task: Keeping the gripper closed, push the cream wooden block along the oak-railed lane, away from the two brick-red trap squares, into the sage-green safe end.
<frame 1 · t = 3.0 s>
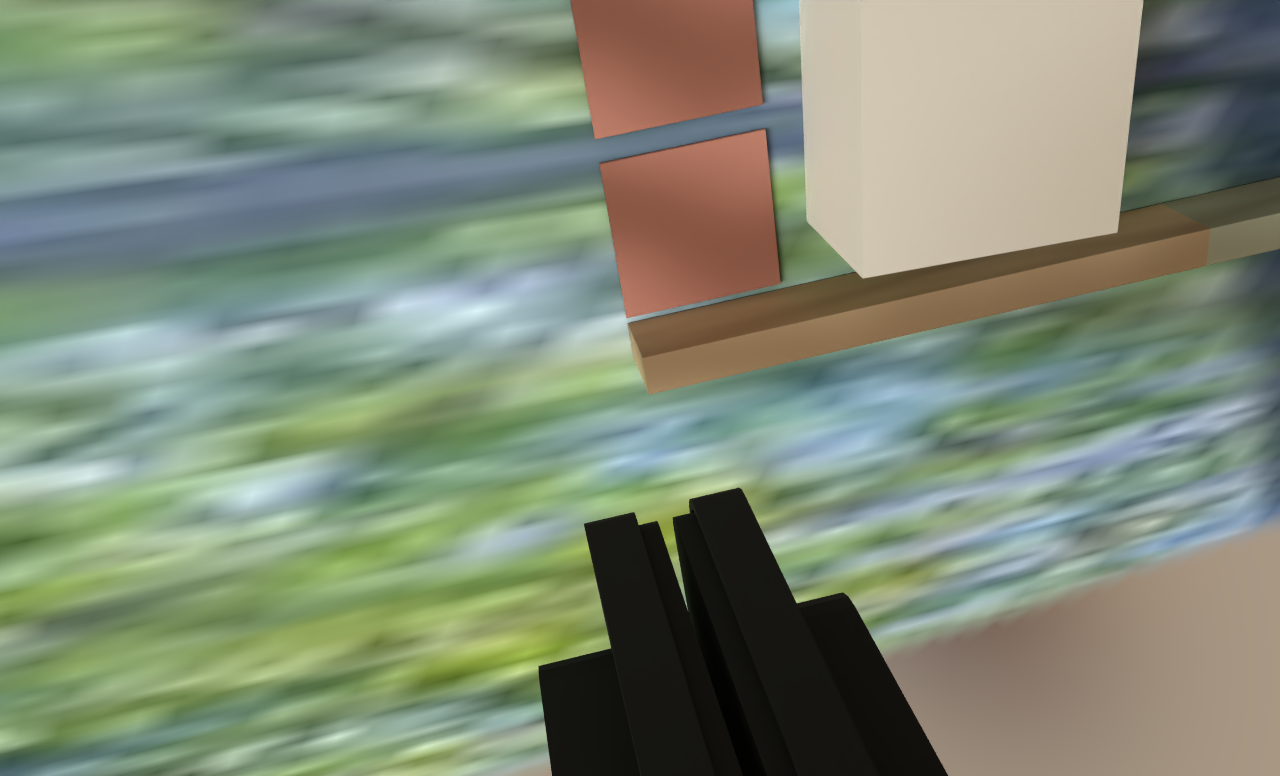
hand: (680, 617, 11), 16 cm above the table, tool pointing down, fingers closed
cream block: (920, 80, 26), resting in finger lane
finger lane: (1061, 53, 26), on the table
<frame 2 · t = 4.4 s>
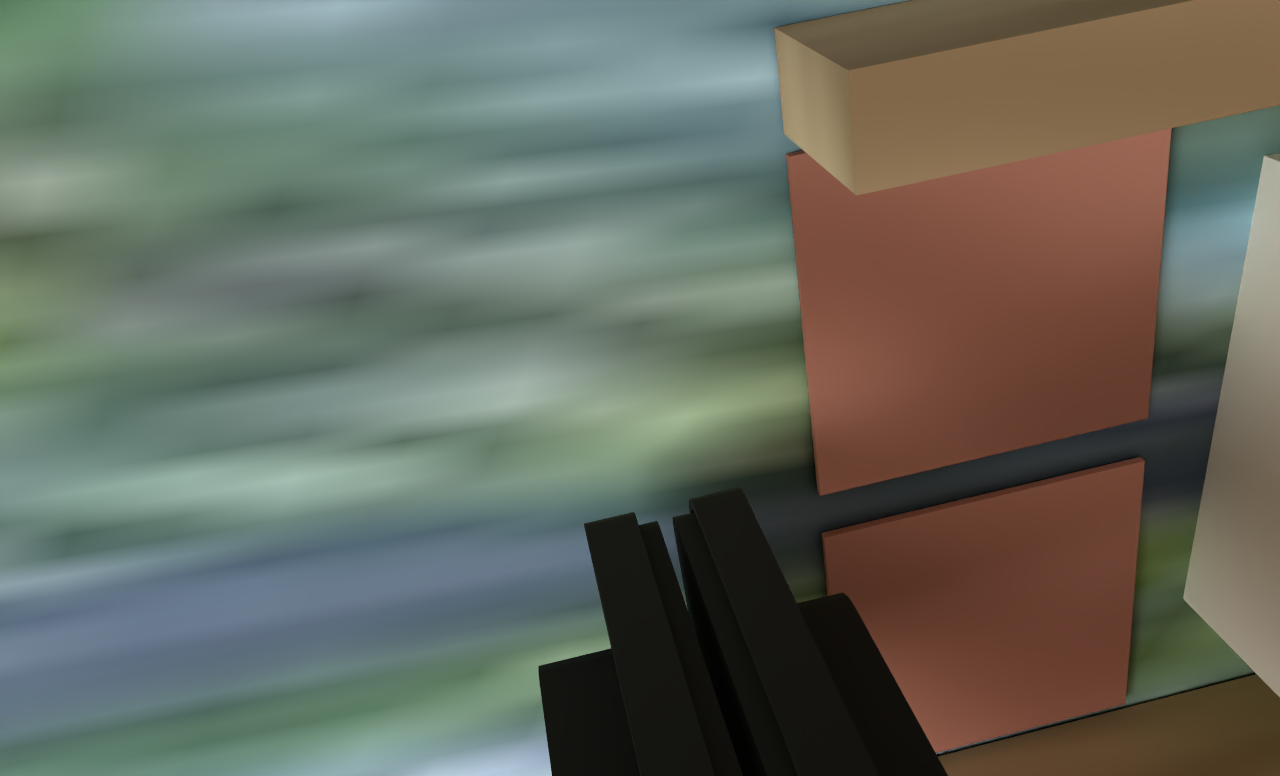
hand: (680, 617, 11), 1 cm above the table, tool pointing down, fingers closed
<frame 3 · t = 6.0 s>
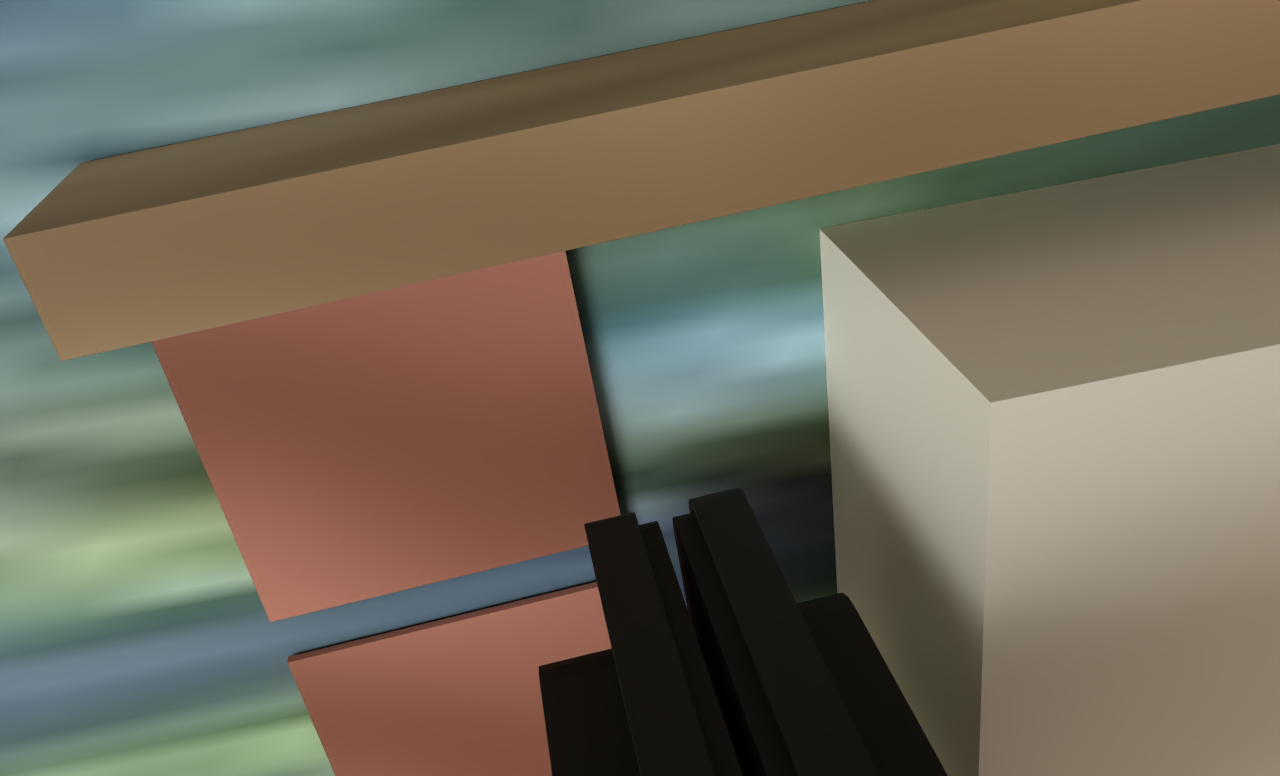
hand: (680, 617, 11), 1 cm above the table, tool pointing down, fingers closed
cream block: (1069, 417, 13), resting in finger lane, touching gripper
finger lane: (1235, 405, 13), on the table
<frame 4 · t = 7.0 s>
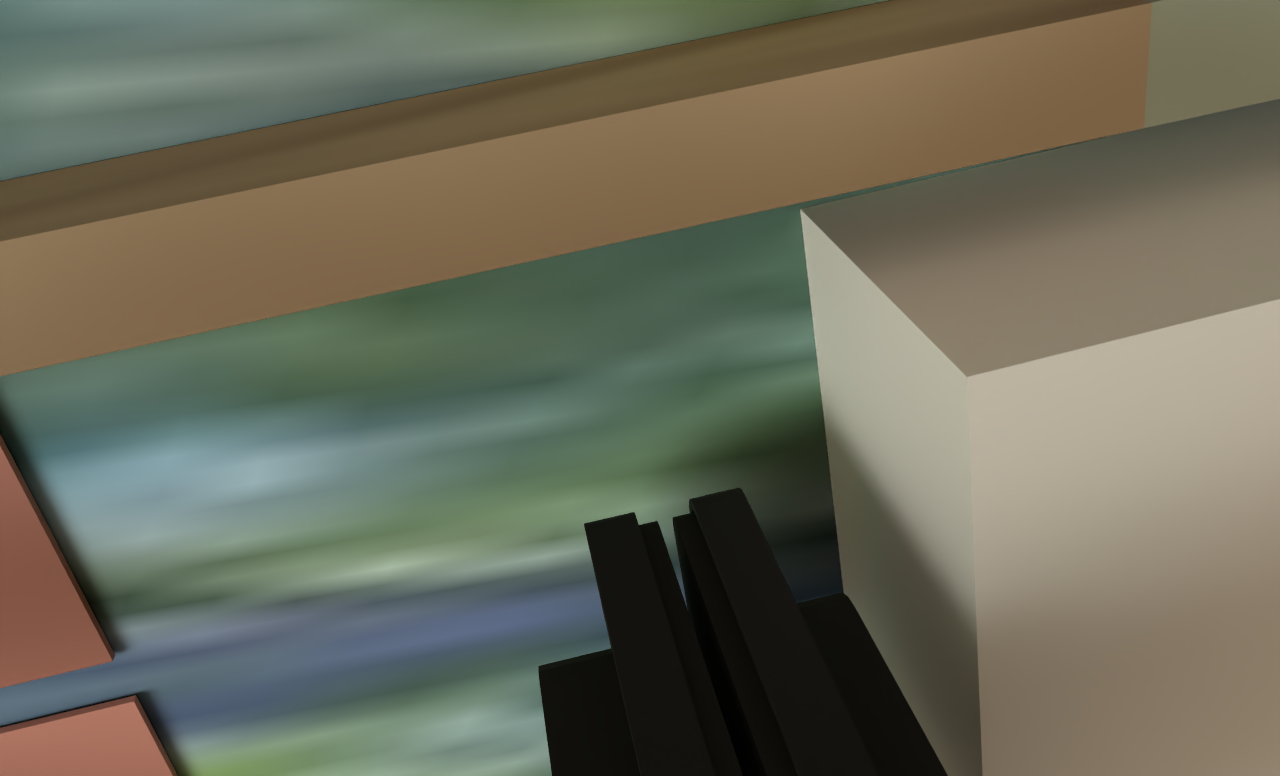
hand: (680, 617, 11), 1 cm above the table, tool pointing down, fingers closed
cream block: (1069, 388, 13), resting in finger lane, touching gripper
finger lane: (778, 518, 13), on the table
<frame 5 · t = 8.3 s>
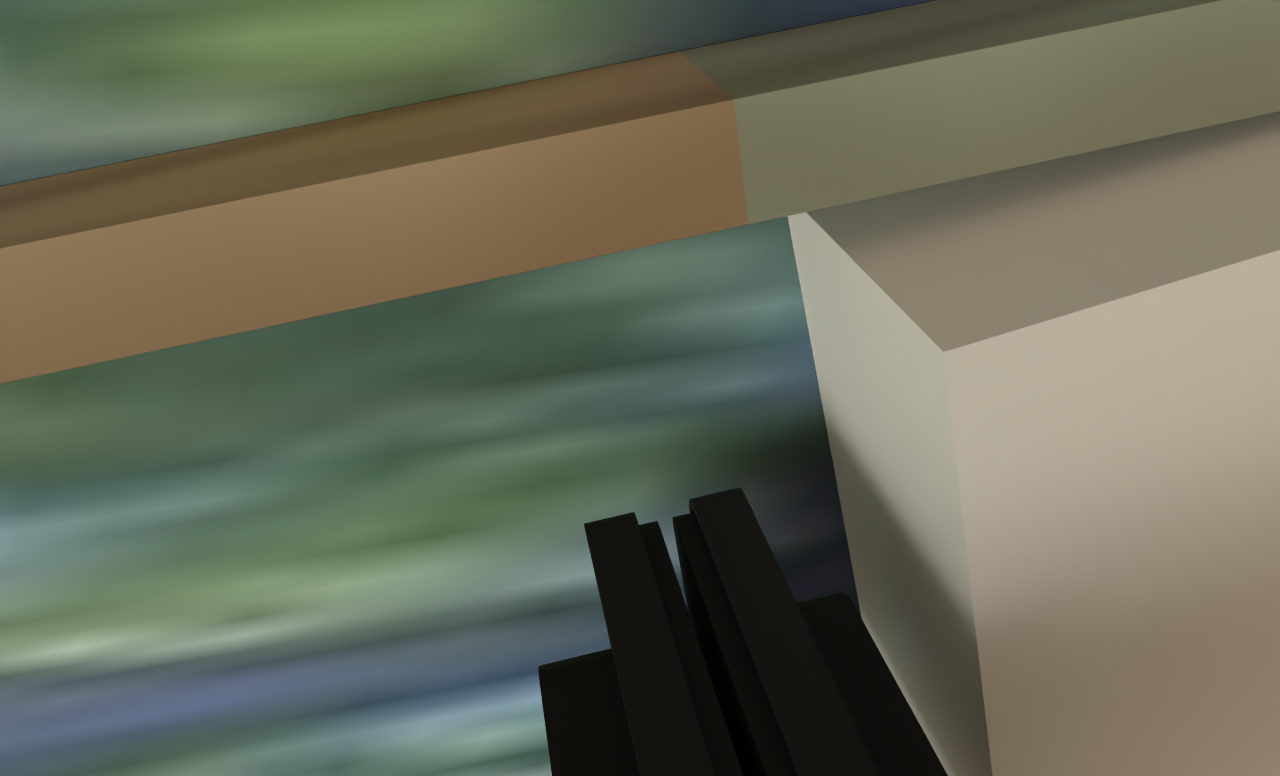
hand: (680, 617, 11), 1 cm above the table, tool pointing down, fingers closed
cream block: (1071, 353, 12), resting in finger lane
finger lane: (488, 595, 12), on the table
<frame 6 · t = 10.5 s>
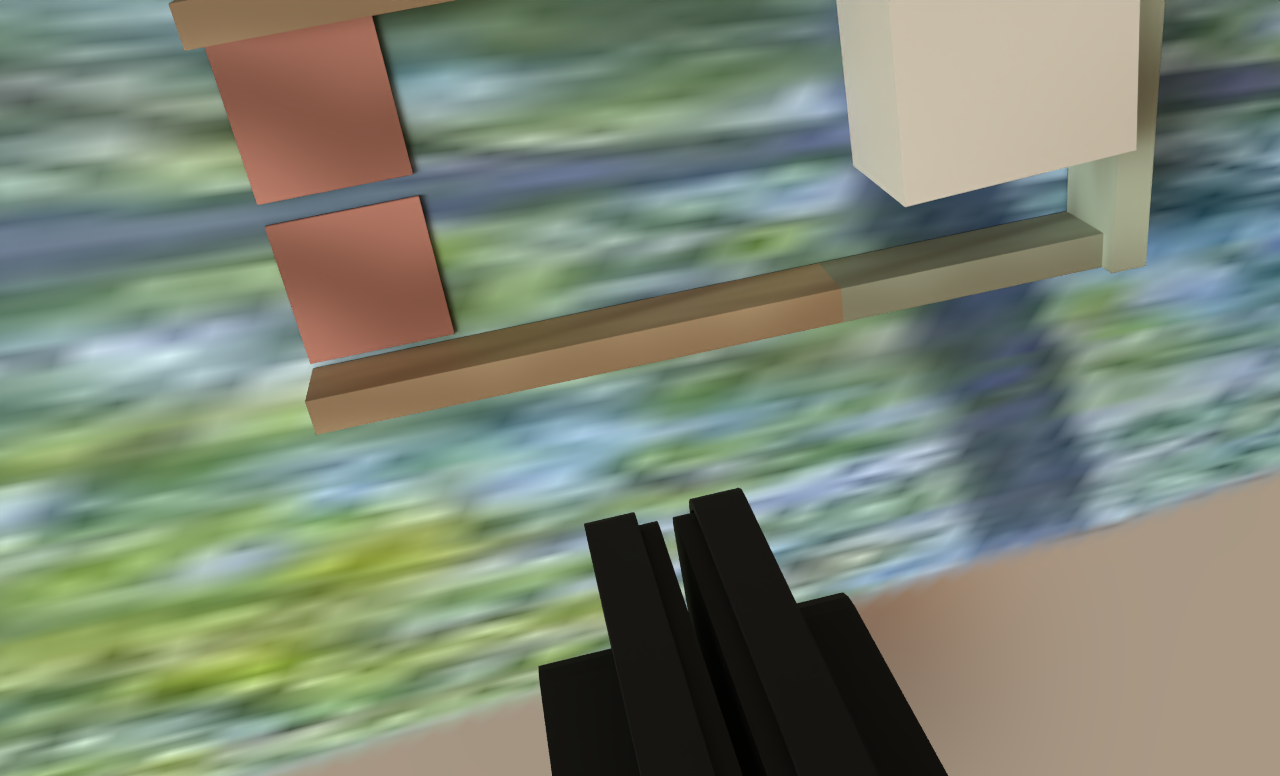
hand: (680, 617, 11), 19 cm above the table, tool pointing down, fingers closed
cream block: (947, 29, 29), resting in finger lane
finger lane: (696, 128, 29), on the table
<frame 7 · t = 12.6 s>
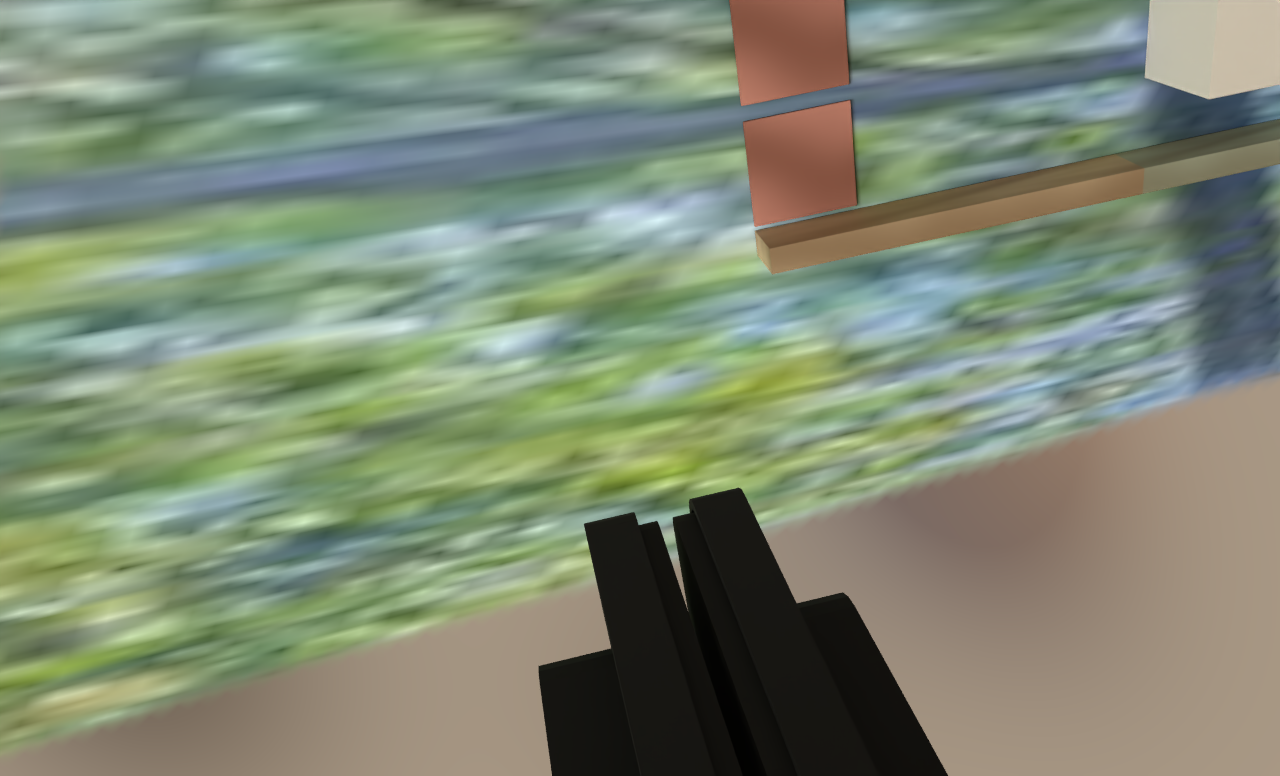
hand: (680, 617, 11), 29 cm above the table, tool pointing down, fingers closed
finger lane: (1044, 51, 40), on the table
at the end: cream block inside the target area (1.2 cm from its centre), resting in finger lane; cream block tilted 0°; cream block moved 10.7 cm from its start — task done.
